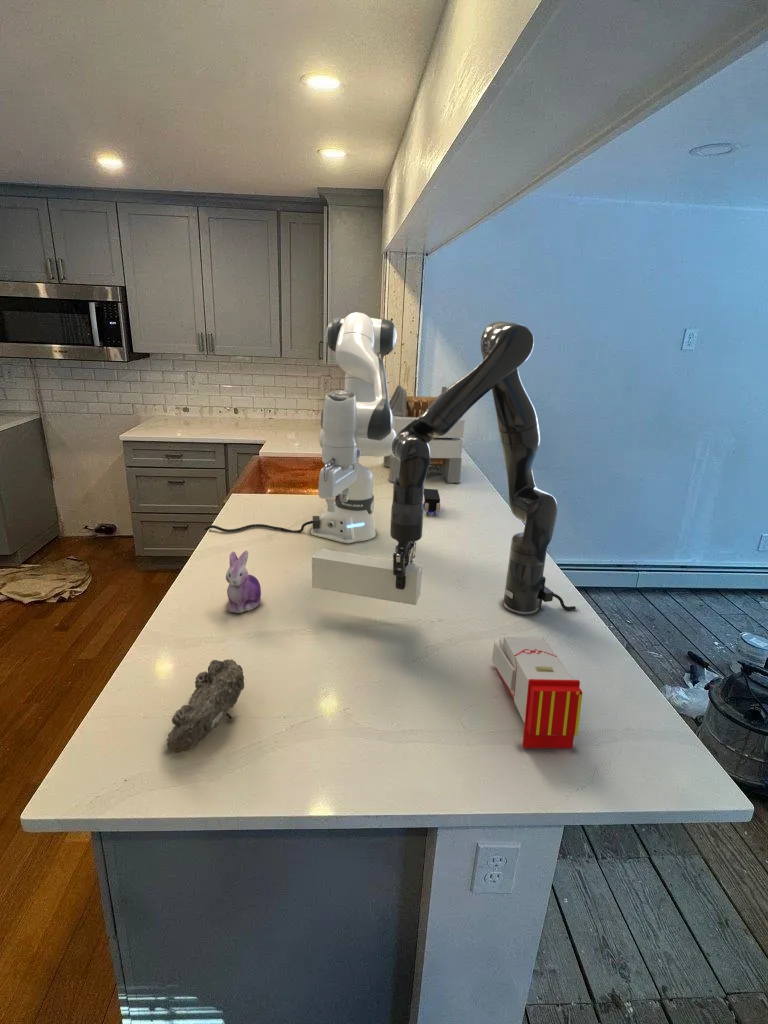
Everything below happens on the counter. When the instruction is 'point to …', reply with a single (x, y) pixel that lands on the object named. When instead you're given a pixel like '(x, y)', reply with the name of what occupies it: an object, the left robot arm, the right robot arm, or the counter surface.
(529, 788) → the counter surface
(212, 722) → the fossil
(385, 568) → the bar
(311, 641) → the counter surface
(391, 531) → the right robot arm
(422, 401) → the transformer
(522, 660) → the toy
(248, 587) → the figurine
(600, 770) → the counter surface
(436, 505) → the figurine character
